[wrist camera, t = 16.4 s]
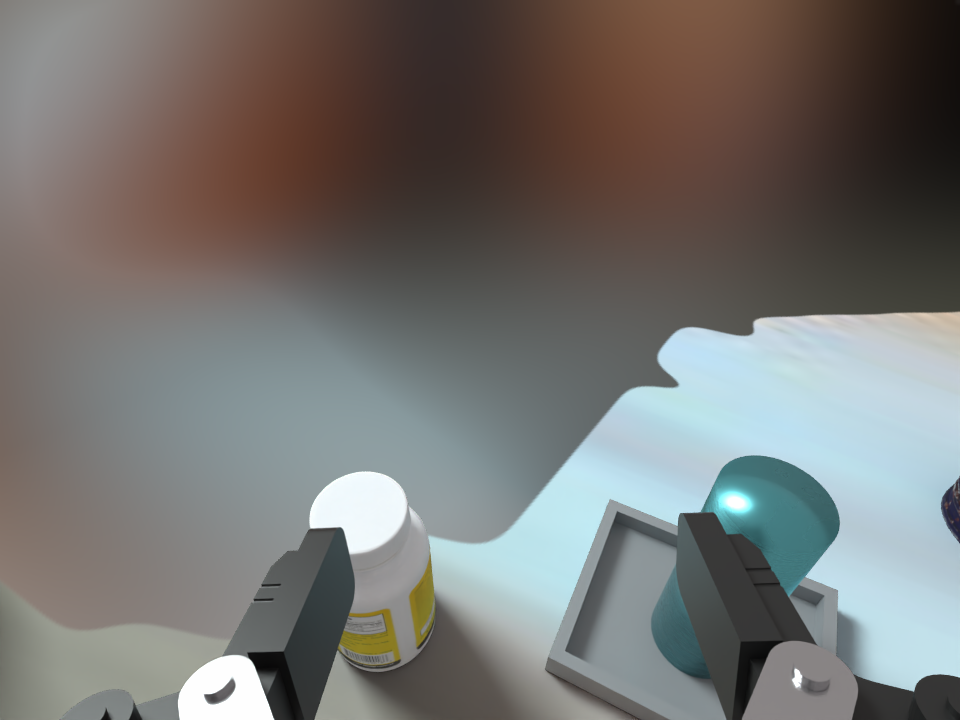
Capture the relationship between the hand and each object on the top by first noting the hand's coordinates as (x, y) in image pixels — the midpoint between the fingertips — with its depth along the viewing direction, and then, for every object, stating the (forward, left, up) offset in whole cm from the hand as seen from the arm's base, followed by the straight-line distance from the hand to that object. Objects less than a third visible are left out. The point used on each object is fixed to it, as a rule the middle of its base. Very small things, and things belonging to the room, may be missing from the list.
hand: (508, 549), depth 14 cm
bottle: (+8, +14, -26) cm, 31 cm away
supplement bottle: (-11, +6, -27) cm, 29 cm away
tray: (+8, +14, -26) cm, 31 cm away
